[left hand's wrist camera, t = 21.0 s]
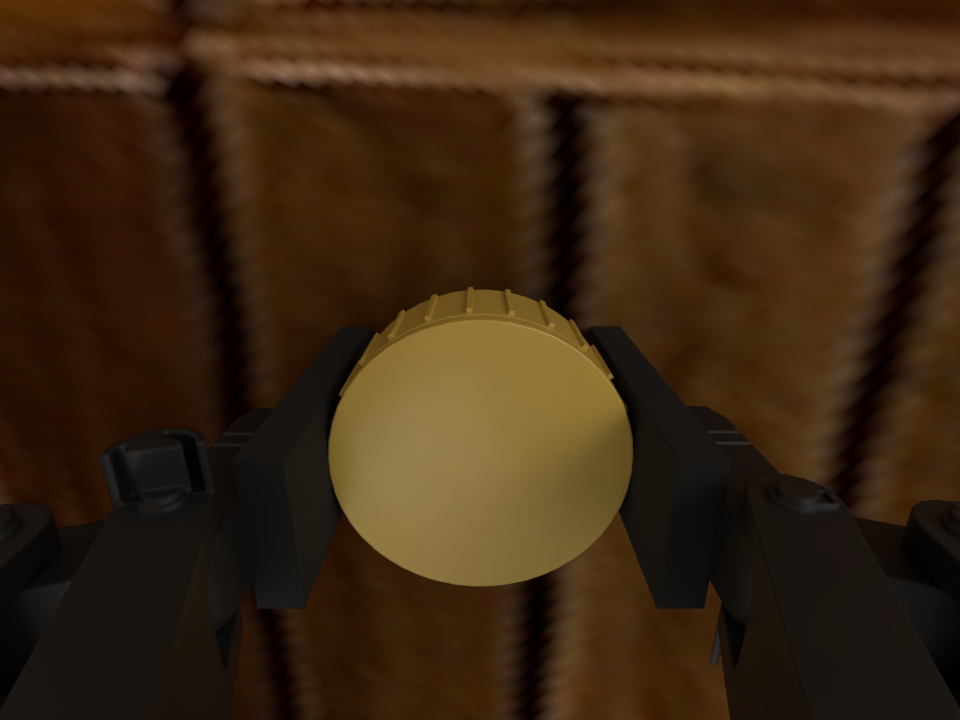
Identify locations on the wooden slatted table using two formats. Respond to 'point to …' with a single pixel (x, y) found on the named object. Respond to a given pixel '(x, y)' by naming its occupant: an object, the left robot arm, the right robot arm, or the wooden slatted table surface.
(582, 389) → the lid
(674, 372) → the wooden slatted table surface
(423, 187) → the wooden slatted table surface
